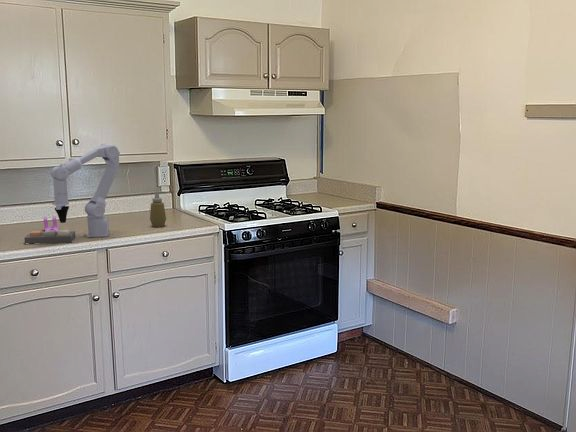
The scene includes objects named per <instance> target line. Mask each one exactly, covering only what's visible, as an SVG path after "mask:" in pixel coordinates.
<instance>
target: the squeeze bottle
mask: <svg viewBox="0 0 576 432" xmlns="http://www.w3.org/2000/svg"><path fill="white" fill-rule="evenodd" d="M151 200H152V202H151V203H150V209H149V210H150V211H149V212H150V213H149V221H150V224H151V226H152V227H154V228H162V227H164V226H165V224H166V220H167V216H166V209H165V203H164V202H163V199H162V197H160V193H159V191H158V190H156V191H155V193H154V198H152V199H151Z"/></svg>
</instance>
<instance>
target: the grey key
mask: <svg viewBox="0 0 576 432" xmlns="http://www.w3.org/2000/svg"><path fill="white" fill-rule="evenodd" d="M55 235H56V230H46V231H45V230H44V236H55Z"/></svg>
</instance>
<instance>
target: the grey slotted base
mask: <svg viewBox="0 0 576 432" xmlns="http://www.w3.org/2000/svg"><path fill="white" fill-rule="evenodd" d="M44 232H45V231H44ZM44 232H43V235H42V236H30V233H28V234H27V235H25V237H24V238H23V239H24V244H25V243H46V244H69V243H72V242H73V241H74V240H75V239H76V236H77V235H76V231H75V230H73V231H72V230H71V231H70V234H69V235H58V232H56V235H55V236H44Z"/></svg>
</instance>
